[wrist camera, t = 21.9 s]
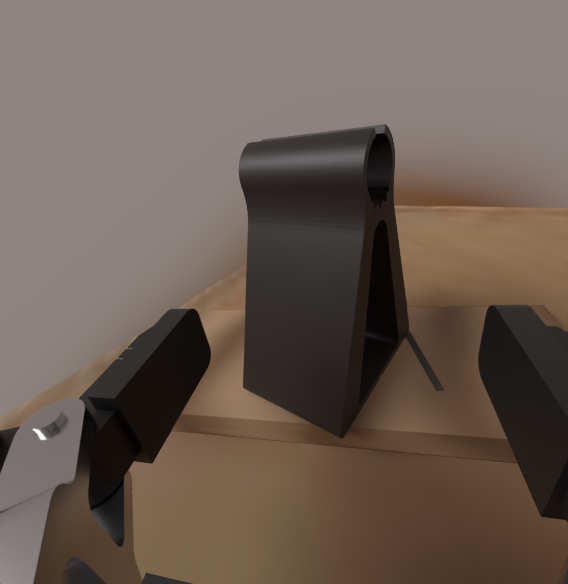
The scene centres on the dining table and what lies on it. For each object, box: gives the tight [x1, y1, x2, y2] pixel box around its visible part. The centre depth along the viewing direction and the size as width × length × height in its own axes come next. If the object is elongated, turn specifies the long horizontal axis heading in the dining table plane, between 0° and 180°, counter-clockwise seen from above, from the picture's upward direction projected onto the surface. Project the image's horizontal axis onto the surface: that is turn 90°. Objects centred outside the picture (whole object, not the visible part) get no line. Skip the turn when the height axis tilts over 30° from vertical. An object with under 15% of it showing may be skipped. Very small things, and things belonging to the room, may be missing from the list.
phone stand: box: [239, 124, 409, 439], centre depth 16 cm, size 9×6×12 cm, turn 143°
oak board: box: [172, 305, 567, 463], centre depth 19 cm, size 24×10×2 cm, turn 78°
